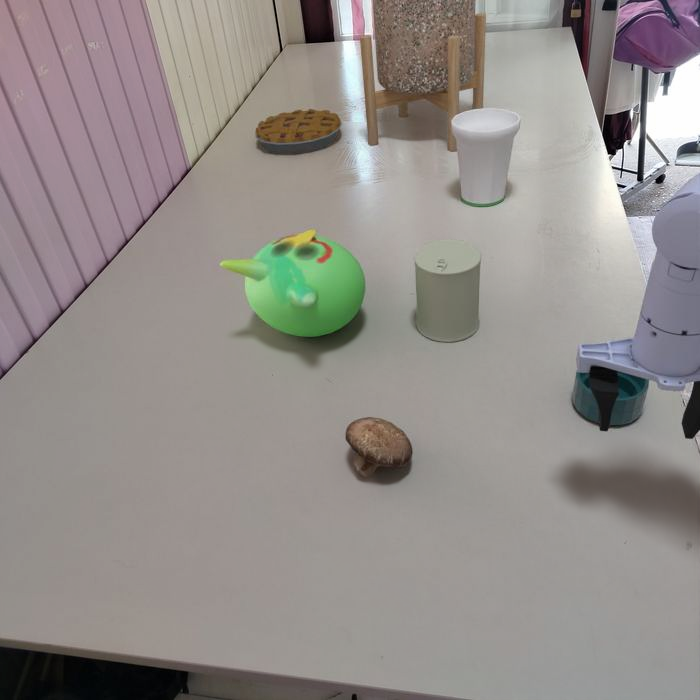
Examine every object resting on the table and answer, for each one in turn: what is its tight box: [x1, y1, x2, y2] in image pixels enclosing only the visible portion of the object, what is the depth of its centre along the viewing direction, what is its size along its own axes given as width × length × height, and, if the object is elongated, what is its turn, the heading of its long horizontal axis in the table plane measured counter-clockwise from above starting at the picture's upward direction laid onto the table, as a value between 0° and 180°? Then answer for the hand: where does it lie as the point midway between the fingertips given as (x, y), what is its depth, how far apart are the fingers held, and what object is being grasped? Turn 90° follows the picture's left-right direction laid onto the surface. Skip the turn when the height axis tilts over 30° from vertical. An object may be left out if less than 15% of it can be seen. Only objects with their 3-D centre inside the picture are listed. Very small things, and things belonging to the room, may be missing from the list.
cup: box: [451, 107, 522, 208], centre depth 120 cm, size 12×12×15 cm
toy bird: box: [219, 228, 366, 338], centre depth 92 cm, size 18×17×15 cm
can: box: [413, 239, 482, 343], centre depth 90 cm, size 9×9×12 cm
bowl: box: [571, 371, 650, 426], centre depth 76 cm, size 8×8×4 cm
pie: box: [254, 108, 343, 155], centre depth 158 cm, size 22×22×5 cm
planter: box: [359, 0, 487, 152], centre depth 146 cm, size 22×23×32 cm
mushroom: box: [344, 416, 414, 478], centre depth 73 cm, size 8×8×6 cm
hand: (644, 427), depth 62 cm, fingers open, 7 cm apart
